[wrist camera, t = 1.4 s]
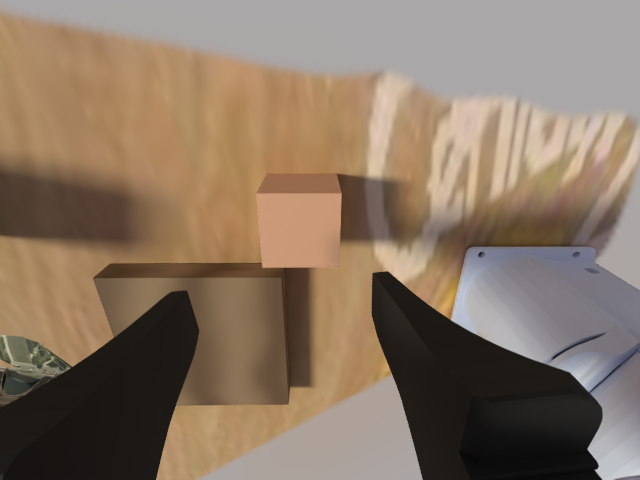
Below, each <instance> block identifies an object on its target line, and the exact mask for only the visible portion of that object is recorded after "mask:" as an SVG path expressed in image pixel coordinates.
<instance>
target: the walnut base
mask: <svg viewBox="0 0 640 480" xmlns="http://www.w3.org/2000/svg"><path fill="white" fill-rule="evenodd" d="M93 280H94V283H95V285H96V288H97V291H98V294H99V297H100V299H101V302H102V305H103V308H104V311H105V313H106V316H107V319H108V322H109V325H110V327H111V330H112V333H113V336H114V337H116V336H117V335H118V334H119V333H121V332H122V331H123V330H125V329H126V328H127V327H128V326H130V325H131V324H132V323H133V322H135V321H136V320H137V319H138V318H139V317H141V316H142V315H143V314H144V313H145V312H147V311H148V310H149V309H150V308H151V307H152V306H154V305H155V304H156V303H157V302H158V301H160V300H161V299H162V298H163V297H165V296H166V295H167V294H169V293H170V292H172V291H183V290H187V291H188V295H189V298H190V301H191V304H192V308H193V311H194V314H195V317H196V321H197V324H198V327H199V330H200V331H199V336H198V341H197V346H196V350H195V354H194V357H193V360H192V363H191V366H190V369H189V371H188V374H187V377H186V380H185V382H184V385H183V388H182V390H181V393H180V396H179V398H178V401H177V404H176V405H283V404H289V393H290V373H289V353H288V334H287V314H286V295H285V275H284V268H262V263H237V264H109V265H108V266H107V267H106V268H104V269H103V270H102V271H101V272H100V273H99V274H97V275H96V276H95V277H94V278H93Z"/></svg>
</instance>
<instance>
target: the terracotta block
mask: <svg viewBox="0 0 640 480" xmlns="http://www.w3.org/2000/svg"><path fill="white" fill-rule="evenodd" d="M341 198H342V193H341V189H340V185H339V181H338V177H337V174H267V175H266V177H265V179H264V180H263V182H262V184H261V186H260V187H259V189H258V191H257V193H256V199H257V210H258V222H259V234H260V245H261V257H262V268H298V267H339V256H340V227H341Z"/></svg>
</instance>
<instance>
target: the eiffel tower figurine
mask: <svg viewBox="0 0 640 480" xmlns="http://www.w3.org/2000/svg"><path fill="white" fill-rule="evenodd" d="M0 359H1V360H3V361H5V362H7V363H9V364H11V365H13V366H15V367H18V368H21V369H18V368H8V367H0V408H1V407H3V406H5V405H7V404H9V403H11V402H13V401H14V400H16V399H18V398H20V397H22V396H24V395H26V394H28V393H29V392H31V391H33V390H35V389H37V388H38V387H40V386H42V385H43V384H45V383H47V382H48V381H50V380H52V379H53V378H55V377H57V376H59V375H60V374H62V373H64V372H65V371H67V370H69V369H70V368H72V367H70V366H69V365H68V364H66V363H65V362H63V361H62V360H61V359H59V358H58V357H57V356H55V355H54V354H52V353H51V352H50V351H48V350H47V349H46V348H44V347H43V346H42V345H40V344H39V343H38V342H35V341H31V340H28V339H26V338H24V337H19V336H5V335H0Z"/></svg>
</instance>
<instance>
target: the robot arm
mask: <svg viewBox="0 0 640 480" xmlns="http://www.w3.org/2000/svg"><path fill="white" fill-rule="evenodd" d="M480 252H483V253H482V254H481V255H479V256H478V254H479V253H480ZM575 252H576V253H575ZM574 253H575V254H574ZM596 253H597V252H596V250H595V249H594V248H592V247H589V246H582V247H471V248H469V249H468V250H467V251H466V255H465V259H464V263H463V268H462V272H461V276H460V281H459V285H458V290H457V294H456V298H455V303H454V307H453V312H452V316H451V320H450V319H448V318H447V317H445V316H444V315H442V314H441V313H439V312H438V311H436V310H435V309H434V308H432V307H431V306H429V305H428V304H427V303H425V302H424V301H423V300H421V299H420V298H419V297H418V296H416V295H415V294H414V293H413V292H411V291H410V290H409V289H408V288H407V287H405V286H404V285H403V284H402V283H401V282H400V281H398V280H397V279H396V278H395V277H394V276H393V275H392V274H390V273H389V272H388V271H387V272H377V273H373V278H372V317H373V321H374V325H375V329H376V333H377V337H378V339H379V342H380V344H381V347H382V350H383V352H384V355H385V357H386V360H387V362H388V365H389V367H390V370H391V372H392V375H393V377H394V380H395V382H396V385H397V388H398V391H399V393H400V396H401V400H402V403H403V407H404V410H405V414H406V417H407V421H408V424H409V428H410V432H411V435H412V439H413V443H414V446H415V451H416V454H417V458H418V462H419V466H420V470H421V474H422V478H423V480H640V290H638V289H636V288H635V287H633V286H631V285H630V284H628V283H627V282H625V281H623V280H622V279H620V278H619V277H617V276H615V275H614V274H612V273H611V272H609V271H607V270H605V269H604V268H602V267H601V266H599V265H598V264H596V263H594V262H593V261H594V258H595V256H596ZM573 254H574V255H573ZM199 331H200V330H199V327H198V324H197V321H196V317H195V314H194V311H193V308H192V304H191V301H190V298H189V295H188V291H187V290H183V291H172V292H170V293H169V294H167V295H166V296H165V297H163V298H162V299H161V300H160V301H158V302H157V303H156V304H155V305H154V306H152V307H151V308H150V309H149V310H148V311H147V312H145V313H144V314H143V315H142V316H141V317H139V318H138V319H137V320H136V321H135V322H133V323H132V324H131V325H130V326H128V327H127V328H126V329H125V330H123V331H122V332H121V333H119V334H118V335H117V336H116V337H114V338H113V339H112V340H110V341H109V342H108V343H106V344H105V345H104V346H103V347H101V348H100V349H98V350H97V351H96V352H94V353H93V354H91V355H90V356H88V357H87V358H85V359H84V360H82V361H81V362H79V363H78V364H76V365H75V366H73V367H72V368H70V369H69V370H67V371H65V372H64V373H62V374H60V375H59V376H57V377H55V378H53V379H52V380H50V381H48V382H47V383H45V384H43V385H42V386H40V387H38V388H37V389H35V390H33V391H31V392H29V393H28V394H26V395H24V396H22V397H20V398H18V399H16V400H14V401H13V402H11V403H9V404H7V405H5V406H3V407H1V408H0V480H156V477H157V473H158V469H159V464H160V460H161V456H162V452H163V448H164V444H165V440H166V436H167V432H168V428H169V425H170V421H171V418H172V415H173V412H174V409H175V407H176V404H177V401H178V398H179V396H180V393H181V390H182V388H183V385H184V382H185V380H186V377H187V374H188V371H189V369H190V366H191V363H192V360H193V357H194V354H195V350H196V346H197V341H198V336H199ZM476 334H479V335H480V336H481V337H480V336H478V335H476Z"/></svg>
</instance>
